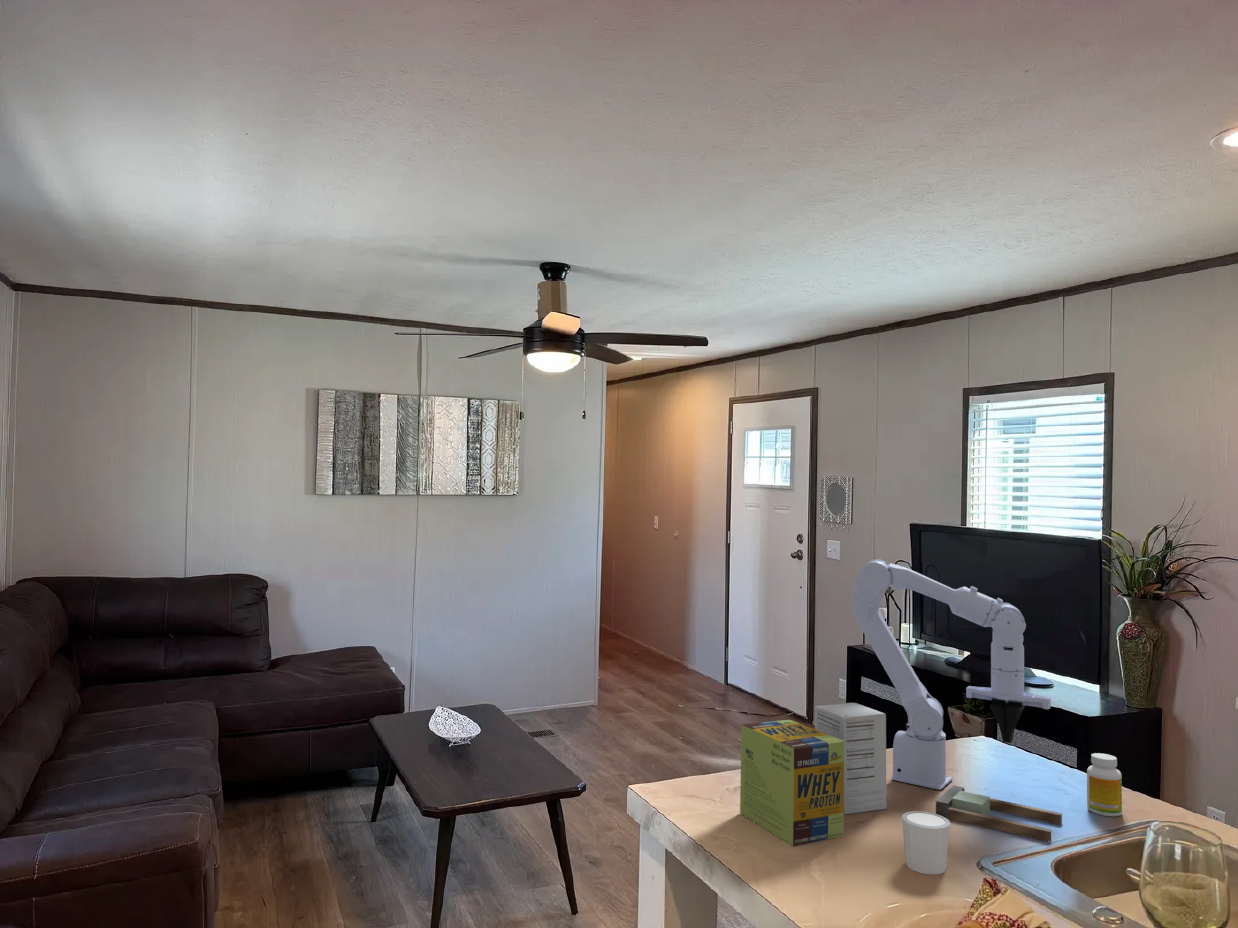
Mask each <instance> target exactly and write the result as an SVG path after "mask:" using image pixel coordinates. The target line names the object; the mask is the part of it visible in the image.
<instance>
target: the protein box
mask: <svg viewBox="0 0 1238 928" xmlns="http://www.w3.org/2000/svg"><path fill="white" fill-rule="evenodd" d="M740 729H741V730H740V791H739V792H740V795H739V796H740V797H739V799H740V800H739V801H740V803H739V813H740V815H742V816H744V817H746V818H747V819H749V820H751V821H752V822H754V823H755V824H756V825H758V826H760V827H761V828H763V829H765V830H766V831H767V832H769V833H771V834H773V835H774V836H775V837H777V838H779V839H780V840H782V841H784V842H785V843H787V845H790V846H792V847H794V846H799V845H804V844H809V843H816V842H820V841H824V840H825V841H826V840H830V839H838V838H841V837H844V836H845V832H844V830H845V829H844V825H845V820H844V816H845V814H844V741H843V740H841V739H838V738H835V737H833V736H830V735H827V734H825V733H823V732H820V731H818V730H815V728H813V727H810V726H807V725H805V724H803V723H799V722H797V721H794V720H791V719H784V720H783V719H782V720H771V721H763V722H761V721H760V722H752V723H743V724H741V728H740Z"/></svg>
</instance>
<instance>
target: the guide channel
mask: <svg viewBox="0 0 1238 928" xmlns="http://www.w3.org/2000/svg"><path fill="white" fill-rule="evenodd" d="M959 791H965V787H963V786H957V785H954V784H952V786H951V787H949V788H948V789H947V790H946V791H945V792H944V793H943V794H941V796H939V797H938V798H937V800H935V814H937V815H940V816H943V817H945V818H946V819H948V820H954V821H956V822H957V821H958V822H962V823H966V824H970V825H975V826H979V827H980V826H981V827H983V828H988V829H992V830H997V831H1001V832H1006V833H1009V834H1014V835H1018V836H1023V837H1027V838H1031V839H1036V840H1040V841H1044V842H1048V841H1050V842H1051V841H1052V829H1050V828H1047V827H1041V826H1037V825H1034V824H1033V825H1031V824H1028V823H1023V822H1019V821H1014V820H1010V819H1005V818H1001V817H996V816H993V815H991V816H990V815H989V814H988V815H983V814H979V813H975V812H970V811H966V810H961V809H957V808H952V798H953V797H954V796H955V795H956V794H957V793H958V792H959ZM991 810H992V811H995V812H1000V813H1003V814H1004V813H1005V814H1009V815H1012V816H1013V815H1014V816H1018V817H1023V818H1027V819H1031V820H1037V821H1041V822H1047V823H1051V824H1054V825H1055V824H1056V825H1062V824H1063V813H1062V812H1058V811H1053V810H1047V809H1044V808H1038V807H1034V806H1031V805H1025V804H1024V805H1023V804H1020V803H1015V802H1010V801H1006V800H1001V799H996V798H993V797H990V811H991Z"/></svg>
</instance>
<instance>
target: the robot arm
mask: <svg viewBox="0 0 1238 928" xmlns="http://www.w3.org/2000/svg"><path fill="white" fill-rule="evenodd" d="M890 585H892V591H899V590H911V591H914V592H916V593H919V594H922V595H923V596H927V597H930V598H932V599H935V600H936V601H939V602H941V603H944V604H947V605H948V606H949V609H950V611H951V613H952V614H954V615H955V616H958V617H960V618H963V619H965V620H967V621H969V622H972V623H974V624H976V625H979V626H981V627H983V628H988V627H989V628H992V641H991V643H990V664H991V665H990V687H984V686H972V685H968V686H967V687H966V688H965V691H966V693H965V694H966V695H965V696H966V698H968V699H972V698H975V699H980V700H987V701H991V703H990V705H989V707H990V710H991V711H992V714H993V715H994V717H995V719H996V722H997V724H998V728H999V730H1000V734H1001V739H1002V743H1007V744H1008V743H1009V744H1011V743H1012V742H1013V741H1014V734H1015V730H1016V726H1017V724H1018V721H1019V719H1020V717H1021V715H1022V713H1023V711H1024V709H1025V707H1026V706H1028V707H1034V708H1035V707H1036V708H1041V709H1043V710H1049V709H1051V707H1052V704H1051V703H1052V702H1051V701H1052V700H1051V697H1050V696H1045V695H1040V694H1034V693H1030V692H1027V691H1025V646H1024V645H1023V643H1024V634H1023V633H1024V632H1025V630H1026V627H1027V623H1026V620H1025V617H1024V615H1023V614H1022V612H1021V611H1020V609H1019V608H1017V607H1016V606H1015V605H1012V604H1011V603H1009V602H1004V600H1003V599H1001V598H1000V597H997V598H996V599H995V598H993V597H990V596H988V595H986V594H985V593H981V592H978V590H979V589H978V588H977V587H975V586H973V585H971V586H970V588H968V587H967V586H962V587H961V586H960V587H959V588H956V589H955V588H952V587H950V586H948V585H945V584H943V583H941V582H939V581H937V580H934V579H932V578H930V577H928V576H926V575H924V574H922V573H919V572H918V571H914V570H912V569H911V568H907V567H904V566H901V565H899V564H895V563H892V562H890V563H888V562H887V561H885V560H883V559H879V558H878V559H877V558H874V559H871V560H869V561H867V562H866V563H865V564H863V565H862V566H861V567H860V569H859V570H858V572H857V574H856V577H855V579H854V581H853V599H852V614H853V616H854V618H855V620H856V622H857V623H858V626H859V627H860V629H861V630H862V632H863V634H864V636H865V637H866V640H867V641H868V643H869V644H870V646H871V648H872V650H873V652H875V655H876V656H877V659H878V660H879V661H880V663H881V666H882V667H883V669H884V671H885V672H886V674H887V676H888V677H889V680H890V681H891V683H892V684H893V687H894V689H896V692H897V693H898V695H899V697H900V701H901V703H902V704H901V705H902V706H903V708H904V710H905V712H906V714H907V721H908V726H909V727H907V729H906V731H905V730H898V731H897V732H896V733H895V735H894V737H893V744H892V777H891V780H892V781H898V782H902V783H906V784H911V785H915V786H920V787H924V788H929V789H934V790H939V791H941V790H942V789H944V788H945V787H946V786H947V785H948V784H950V782H951V781H953V777H952V776H949V775H947V774H946V773H947V772H946V770H947V769H946V766H947V763H946V759H947V758H946V757H947V755H946V753H947V752H946V750H947V749H946V747H947V745H946V743H947V742H946V737H947V735H946V733H945V732H944V731H943V727H944V708H943V706H942V705H941V703H940V702H939V700H937V698H934V696H932V695H931V694H930V693H929V691H928V690H927V688H926V687H925V686H924V684H923V683H922V682H921V681H920V679H919V677H918V676H917V674H916V672H915V671H914V668H913V667H912V665H911V664H910V662H909V660H908V659H907V657H906V655H905V653H904V651H903V650H902V648H901V646H900V645H899V643H898V641H897V640H896V638H895V636H894V634H893V633H892V631H891V629H890V627H889V626H888V624H887V623H886V621H885V619H884V617H883V616H882V614H881V612H880V608H881V604H882V602H883V601H882V600H883V596H884V594H885V593H886V592H887V590H888V588H889V587H890Z"/></svg>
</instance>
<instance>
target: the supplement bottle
mask: <svg viewBox="0 0 1238 928" xmlns="http://www.w3.org/2000/svg"><path fill="white" fill-rule="evenodd" d="M1090 757H1091V758H1090V761H1091V764H1092V765H1090V766H1088V768H1087V769H1086V805H1087V806H1086V807H1087V810H1089V811H1090V812H1091V813H1094V814H1096V815H1100V816H1104V817H1119V816H1121V815H1123V814H1122V813H1123V790H1122V789H1123V788H1122V787H1123V784H1122V783H1123V782H1122V781H1123V780H1122V772H1121V771H1120V770H1119V769H1117V767H1118V758H1117V757H1116V756H1115V755H1111V754H1109V753H1103V752H1102V753H1100V752H1097V753H1096V752H1094V753H1091V754H1090Z"/></svg>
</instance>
